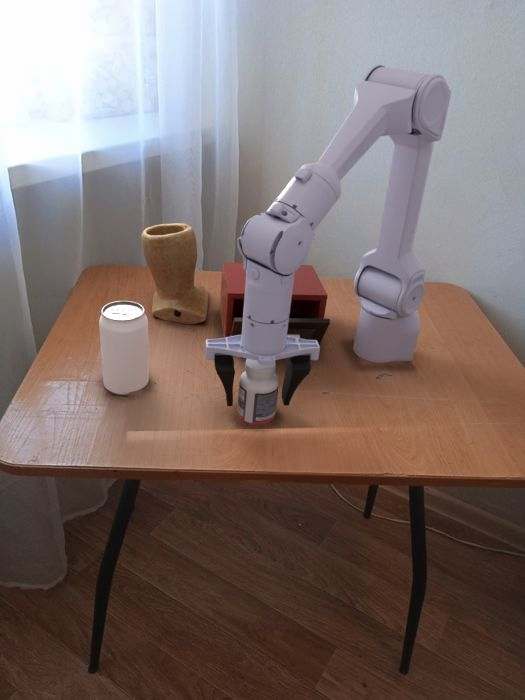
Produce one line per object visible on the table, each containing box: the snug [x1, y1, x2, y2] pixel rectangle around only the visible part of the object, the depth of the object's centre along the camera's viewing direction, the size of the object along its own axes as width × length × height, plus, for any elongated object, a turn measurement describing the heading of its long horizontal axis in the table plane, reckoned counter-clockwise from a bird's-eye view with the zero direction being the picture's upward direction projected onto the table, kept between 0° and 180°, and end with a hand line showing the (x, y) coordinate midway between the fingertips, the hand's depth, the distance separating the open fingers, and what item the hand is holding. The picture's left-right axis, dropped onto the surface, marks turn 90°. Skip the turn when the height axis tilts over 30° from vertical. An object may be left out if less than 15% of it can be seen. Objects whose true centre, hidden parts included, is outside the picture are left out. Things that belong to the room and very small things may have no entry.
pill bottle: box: [236, 358, 280, 425], centre depth 75 cm, size 5×5×9 cm
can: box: [98, 300, 150, 396], centre depth 78 cm, size 6×6×12 cm
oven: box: [219, 262, 329, 338], centre depth 96 cm, size 16×12×10 cm
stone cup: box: [140, 222, 209, 325], centre depth 99 cm, size 15×12×15 cm
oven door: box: [231, 318, 331, 346], centre depth 88 cm, size 15×4×9 cm
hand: (257, 401), depth 76 cm, fingers open, 7 cm apart
